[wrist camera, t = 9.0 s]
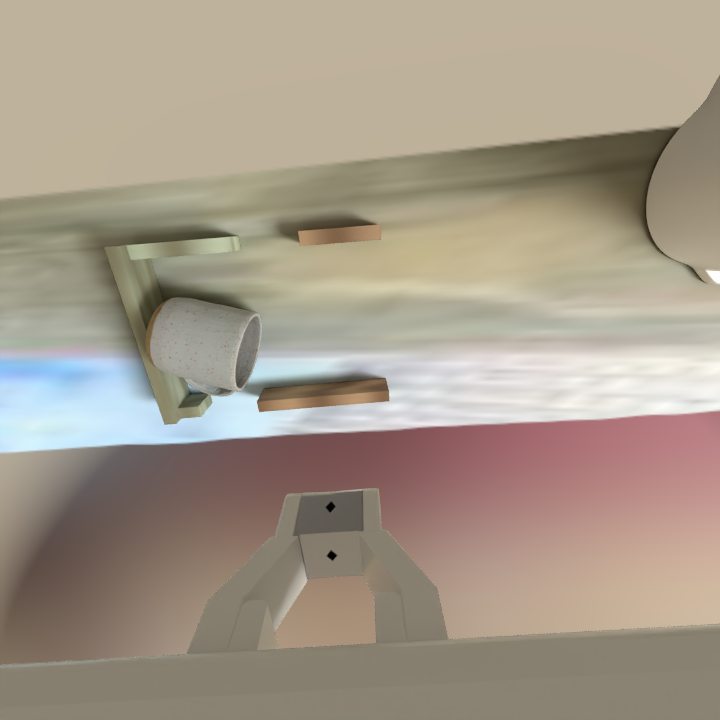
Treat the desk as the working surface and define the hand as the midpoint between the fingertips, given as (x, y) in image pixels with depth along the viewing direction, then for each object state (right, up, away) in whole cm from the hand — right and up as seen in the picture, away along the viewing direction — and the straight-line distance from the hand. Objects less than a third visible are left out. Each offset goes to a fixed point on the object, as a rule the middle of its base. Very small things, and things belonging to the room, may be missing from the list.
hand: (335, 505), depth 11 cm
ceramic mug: (-13, +7, +24) cm, 28 cm away
